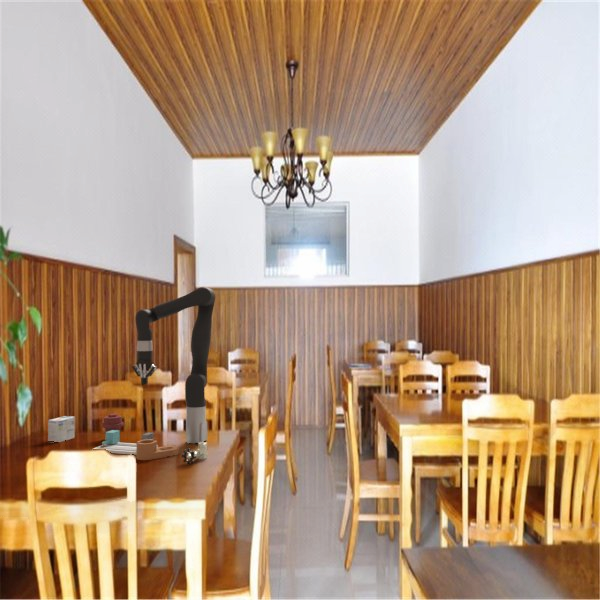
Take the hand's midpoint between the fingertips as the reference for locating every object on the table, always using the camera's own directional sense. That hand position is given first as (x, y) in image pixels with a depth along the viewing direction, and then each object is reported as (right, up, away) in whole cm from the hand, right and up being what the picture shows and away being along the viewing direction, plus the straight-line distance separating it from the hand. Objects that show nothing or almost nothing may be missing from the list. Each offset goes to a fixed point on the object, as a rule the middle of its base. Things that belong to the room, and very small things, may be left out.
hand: (144, 385), depth 241 cm
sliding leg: (-11, -25, -15) cm, 31 cm away
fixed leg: (+7, -25, -19) cm, 32 cm away
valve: (+33, -26, -35) cm, 55 cm away
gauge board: (-3, -26, -18) cm, 32 cm away
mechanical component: (-16, -27, +1) cm, 32 cm away
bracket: (+15, -26, -28) cm, 41 cm away
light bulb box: (-41, -27, 0) cm, 49 cm away
